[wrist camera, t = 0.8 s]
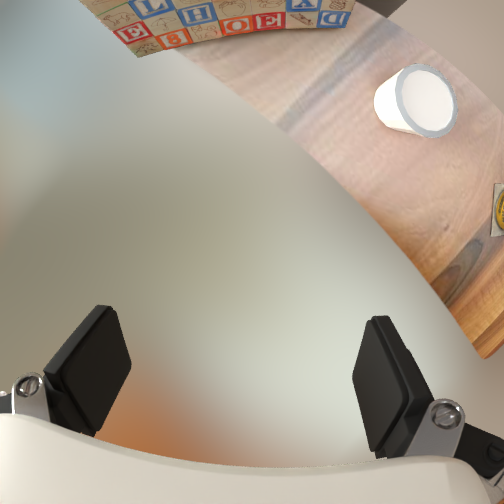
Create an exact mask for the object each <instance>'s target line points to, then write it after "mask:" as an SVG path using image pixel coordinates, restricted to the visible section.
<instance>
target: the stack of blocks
mask: <svg viewBox="0 0 504 504" xmlns="http://www.w3.org/2000/svg"><path fill="white" fill-rule="evenodd" d="M79 1H80V2H81V3H82V4H83V5H84V6H86V7H87V8H88V9H89V10H90V11H91V12H92V13H93V14H94V15H95V17H96V18H97V19H98V20H100V21H101V22H102V23H103V24H104V25H105V26H106V27H107V28H108V29H109V30H110V31H112V32H113V33H114V34H115V35H116V36H117V37H118V38H119V39H120V40H121V41H122V42H123V43H124V44H126V46H127V47H128V48H129V49H130V50H131V51H132V52H133V53H134V54H135V55H136V56H137V57H143V56H146V55H149V54H152V53H155V52H159V51H162V50H168V49H172V48H175V47H180V46H183V45H187V44H191V43H196V42H201V41H206V40H211V39H216V38H221V37H223V36H229V35H234V34H240V33H247V32H253V31H261V30H271V29H282V28H286V29H294V28H316V27H317V28H345V26H346V24H347V21H348V19H349V16H350V14H351V11H352V9H353V6H354V4H355V1H356V0H79Z"/></svg>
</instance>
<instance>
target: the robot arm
mask: <svg viewBox="0 0 504 504" xmlns="http://www.w3.org/2000/svg"><path fill="white" fill-rule="evenodd" d="M130 370H131V359H130V357H129V353H128V350H127V347H126V344H125V340H124V337H123V334H122V330H121V327H120V323H119V320H118V316H117V313H116V311H115V310H113V308H112V307H111V306H105V305H97V306H95V308H94V309H93V310H92V311H91V312H90V313H89V314H88V316H87V317H86V318H85V319H84V320H83V322H82V323H81V324H80V325H79V326H78V327H77V328H76V330H75V331H74V332H73V333H72V334H71V336H70V337H69V338H68V339H67V340H66V342H65V343H64V344H63V345H62V347H61V348H60V349H59V351H58V352H57V353H56V354H55V355H54V357H53V358H52V359H51V360H50V362H49V363H48V364H47V365H46V367H45V368H44V370H43V371H44V373H45V375H44V376H43V377H42V376H41V375H40V374H38V373H33V372H30V373H26V374H23V375H21V376H20V377H18V378H17V380H16V381H15V382H14V384H13V387H12V393H10V394H8V395H4V396H1V397H0V504H504V440H503V439H501V438H500V437H497V436H495V435H493V434H490V433H488V432H485V431H483V430H481V429H478V428H476V427H474V426H471V425H469V424H467V423H465V413H464V411H463V409H462V407H461V406H460V405H459V404H457V403H456V402H454V401H452V400H449V399H438V400H434V398H433V395H432V393H431V391H430V389H429V387H428V385H427V383H426V381H425V379H424V377H423V375H422V373H421V371H420V369H419V367H418V365H417V363H416V362H415V360H414V358H413V356H412V354H411V352H410V351H409V350H408V349H407V348H406V346H405V345H404V343H403V341H402V339H401V337H400V335H399V334H398V332H397V330H396V328H395V326H394V324H393V323H392V321H391V319H390V317H389V316H373V317H372V319H371V320H368V321H367V323H366V327H365V331H364V335H363V339H362V342H361V346H360V350H359V353H358V357H357V360H356V364H355V367H354V370H353V375H352V380H353V384H354V388H355V392H356V395H357V399H358V403H359V407H360V411H361V415H362V419H363V423H364V427H365V431H366V436H367V439H368V444H369V448H370V451H371V452H374V451H375V456H376V459H378V458H384V457H387V459H383V460H376V461H369V462H363V463H354V464H344V465H332V466H320V467H298V468H263V467H241V466H228V465H218V464H208V463H200V462H193V461H186V460H181V459H174V458H169V457H164V456H159V455H154V454H150V453H145V452H141V451H137V450H132V449H129V448H125V447H121V446H118V445H114V444H111V443H107V442H104V441H101V440H97V439H95V438H92V437H94V436H95V434H96V431H99V430H100V429H101V428H102V425H103V423H104V421H105V419H106V417H107V415H108V413H109V411H110V409H111V407H112V405H113V403H114V401H115V399H116V397H117V395H118V393H119V391H120V389H121V387H122V385H123V383H124V381H125V379H126V377H127V376H128V374H129V372H130ZM81 432H82V434H80V433H81ZM83 434H85V435H89V436H91V437H89V436H85V435H83Z"/></svg>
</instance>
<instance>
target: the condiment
mask: <svg viewBox="0 0 504 504" xmlns="http://www.w3.org/2000/svg"><path fill="white" fill-rule="evenodd" d="M501 235H504V184H495V189H494V202H493V217H492V231H491V237H494V236H501Z"/></svg>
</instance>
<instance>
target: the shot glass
mask: <svg viewBox="0 0 504 504" xmlns="http://www.w3.org/2000/svg"><path fill="white" fill-rule="evenodd" d="M374 106H375V111H376V113H377V115H378V117H379V119H380V120H381V121H382V122H383V123H384V124H385V125H386V126H387V127H389V128H392V129H394V130H396V131H401V132H406V133H410V134H415V135H419V136H423V137H430V138H439V137H441V136H443V135H445V134H447V133H449V132H450V130H451V129H452V127H453V126H454V124H455V123H456V118H457V113H458V106H457V99H456V95H455V93H454V90H453V88H452V86H451V84H450V82H449V81H448V80H447V79H446V78H445V77H444V75H443V74H442V73H441V72H440V71H438V70H436V69H435V68H433V67H431V66H430V65H426V64H418V63H415V64H412V65H410V66H407V67H405V68H403V69H402V70H401V71H399V72H398V73H396V74H395V75H394V76H392V77H391V78H390V79H388V80H387V81H385V82H384V83H383V84H381V86H380V87H379V88H378V89H377V90H376V93H375V97H374Z"/></svg>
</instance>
